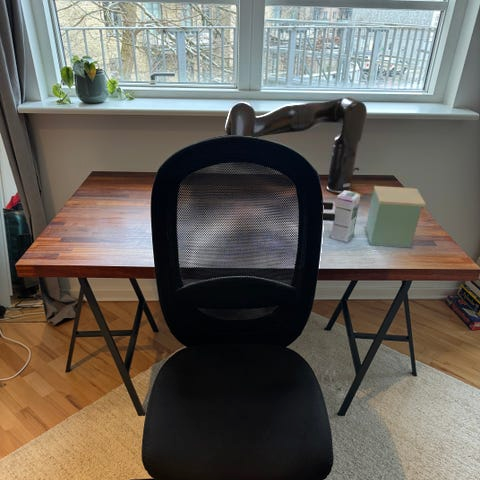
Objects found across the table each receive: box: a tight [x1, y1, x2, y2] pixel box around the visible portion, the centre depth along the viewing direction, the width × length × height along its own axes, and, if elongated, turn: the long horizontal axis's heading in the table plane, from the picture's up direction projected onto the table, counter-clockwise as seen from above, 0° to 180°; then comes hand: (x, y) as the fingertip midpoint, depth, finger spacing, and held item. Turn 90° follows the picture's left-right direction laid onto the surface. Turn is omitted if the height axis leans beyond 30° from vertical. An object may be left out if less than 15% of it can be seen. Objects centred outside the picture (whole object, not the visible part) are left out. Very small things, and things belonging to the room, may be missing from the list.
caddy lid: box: [373, 185, 426, 208], centre depth 140 cm, size 13×13×1 cm
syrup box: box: [330, 190, 361, 243], centre depth 144 cm, size 6×6×14 cm
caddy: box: [365, 189, 423, 249], centre depth 145 cm, size 13×13×14 cm
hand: (333, 211), depth 143 cm, fingers open, 8 cm apart
